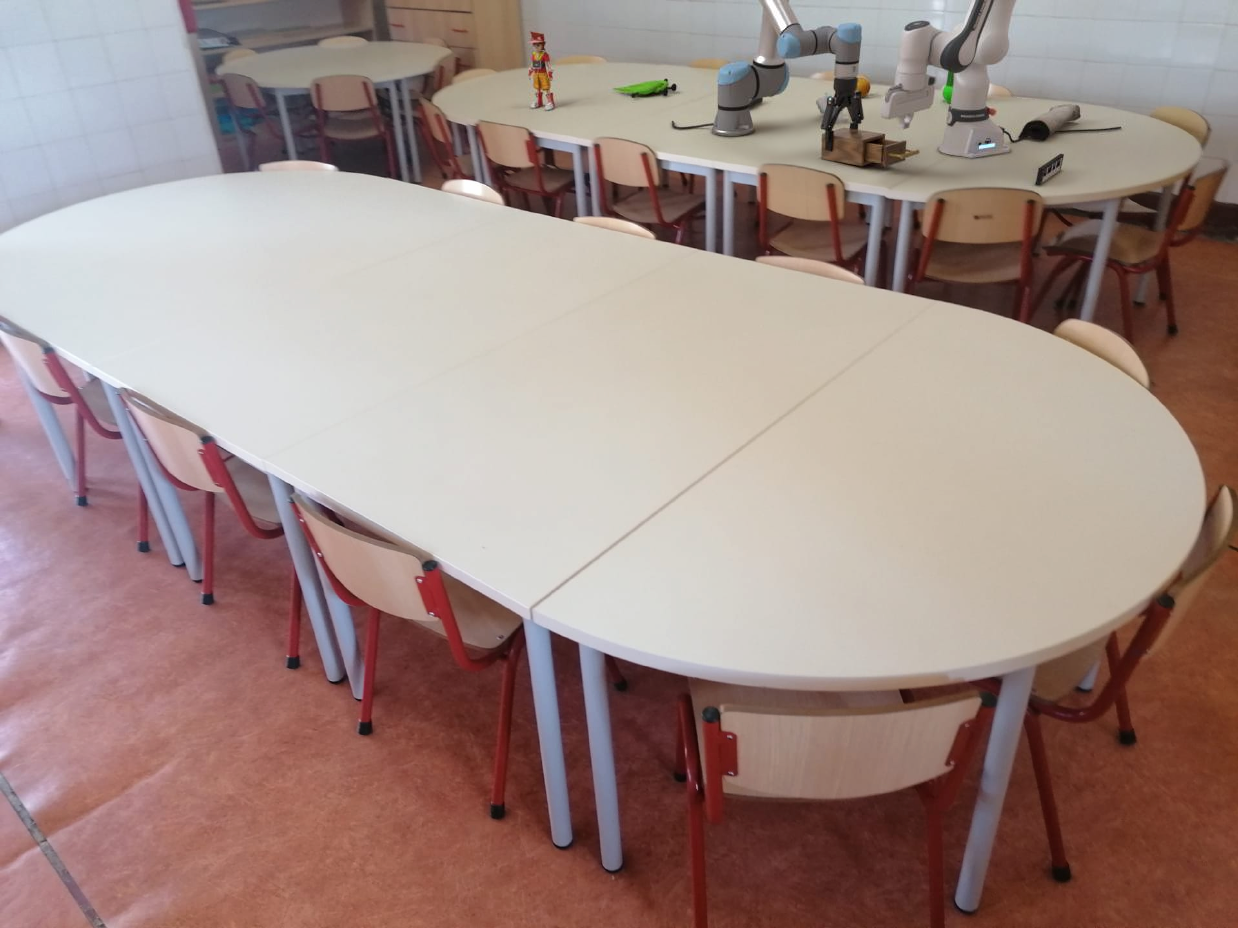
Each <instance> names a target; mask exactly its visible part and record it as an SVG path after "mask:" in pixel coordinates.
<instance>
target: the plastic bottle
mask: <svg viewBox="0 0 1238 928" xmlns="http://www.w3.org/2000/svg"><path fill="white" fill-rule="evenodd" d="M946 77H947V78H946V84H945V85H944V87H943V90H942V97H943V99H944V100H945V101H946V102H947V103H948V104H951V98H952V91H953V84H954V73H952V72H949V71H947V76H946Z"/></svg>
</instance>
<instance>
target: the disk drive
mask: <svg viewBox="0 0 1238 928" xmlns="http://www.w3.org/2000/svg"><path fill="white" fill-rule="evenodd" d="M763 100H764V97H763V98H757V99H751V100H749V110H750V109H752V108H753V107H755V106H757V105H759V104H761V103H762V102H763Z"/></svg>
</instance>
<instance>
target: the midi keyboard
mask: <svg viewBox="0 0 1238 928" xmlns="http://www.w3.org/2000/svg"><path fill="white" fill-rule="evenodd" d="M1064 157H1065V153H1059V154H1058V155H1056V156H1055V157H1052V159H1051V160H1049V161H1047V162H1045V164H1042V165H1041V166H1039V167H1038V169H1037V175H1036V179H1035V186H1040V185H1042V183H1044V182H1045V181H1047V180H1048V179H1049V178H1051V177H1052V176H1054V175H1055V174H1056V173H1058V172H1060V171H1061V170H1062V165H1063V161H1064Z"/></svg>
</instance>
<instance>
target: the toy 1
mask: <svg viewBox="0 0 1238 928" xmlns="http://www.w3.org/2000/svg"><path fill="white" fill-rule="evenodd" d="M529 33H530V35H531V36H528V37H527V38H528V39H529V40H528V41H527V43H529V44H530V43H531V44H532V48H533V50H534V51H533V52H532V55H531V58H530V59H531V63H530V66H528V74H527V75H528V76H527V77H528V79H529V80H531V75H532V74H533V84H532V85H533V86H532V87H533V88H534V89H535V90H536V92H534V95H535V97H536V100H535V101H533V102H531V105H530V108H531V109H535V108H538V107H542V106H544V101H543V100H544V99H543V95H544V92H546V94H545V97H546V99H547V103H546V104H545V106H544V110H546V111H549V110H553V109H554V107H555V106H556V105H555V99H554V92H551V91H550V90H551V86H552V84H551V82H552V81H553V80H554V77H553V73H554V71H555V70H554V69H552V68H551V63H550V61H551V59H550V58H551V57H550V54H549V53H548V52H547V50H546V48H545V46H546V44H547V41H545V35H544V33H543V32H542V33H539V32H535V31H529Z"/></svg>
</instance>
